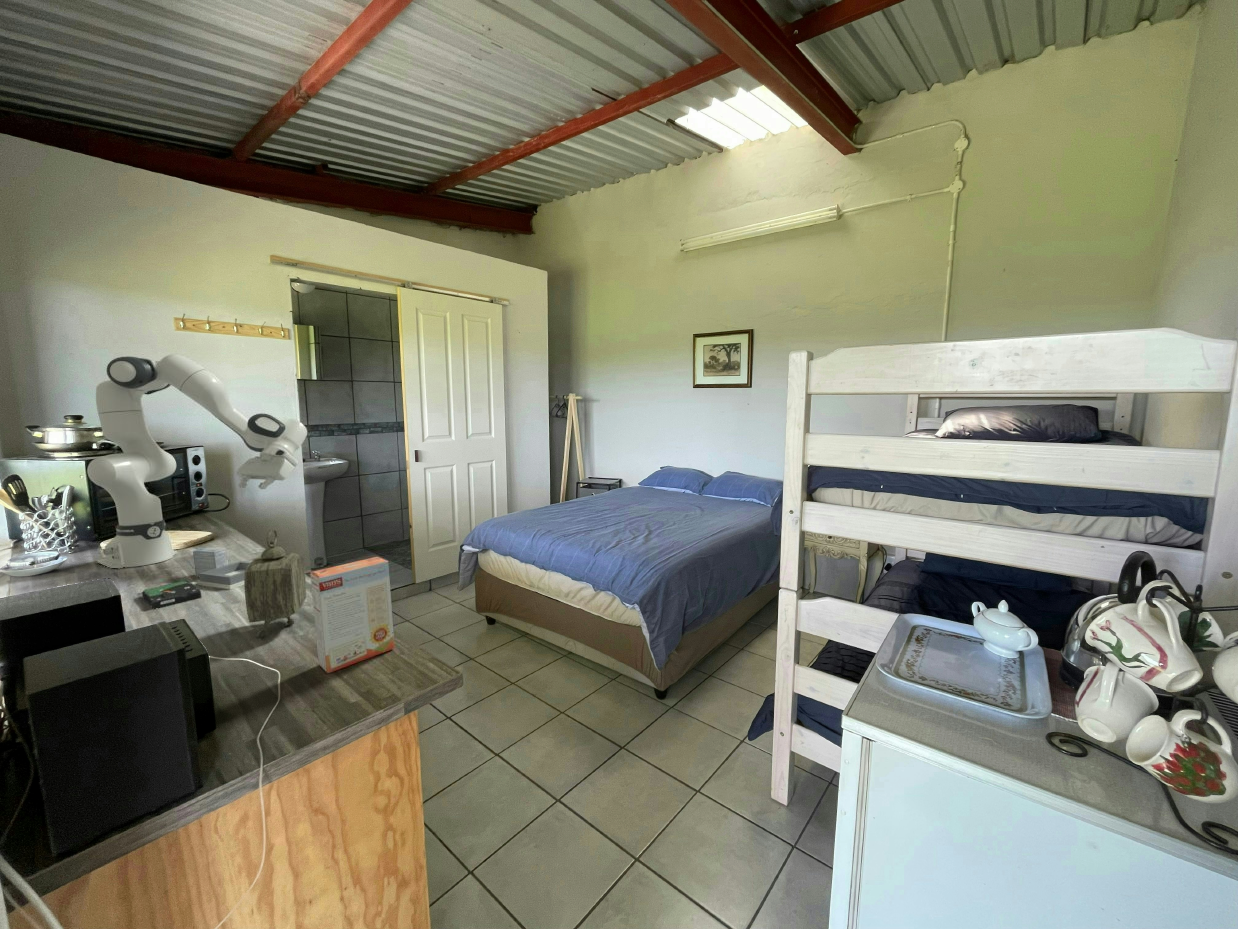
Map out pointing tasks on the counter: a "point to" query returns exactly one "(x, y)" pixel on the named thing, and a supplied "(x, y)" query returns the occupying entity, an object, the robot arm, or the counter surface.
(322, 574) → the cracker box
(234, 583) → the dock
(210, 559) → the medicine box
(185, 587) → the disk drive
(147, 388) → the robot arm
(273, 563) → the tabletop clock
